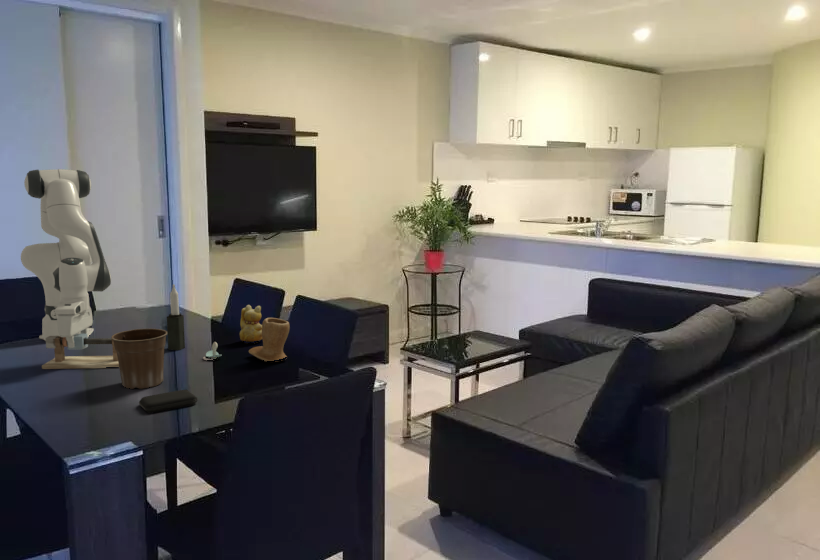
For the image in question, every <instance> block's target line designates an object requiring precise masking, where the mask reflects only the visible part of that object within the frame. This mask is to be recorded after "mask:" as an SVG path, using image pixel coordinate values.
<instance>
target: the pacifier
mask: <svg viewBox="0 0 820 560" xmlns="http://www.w3.org/2000/svg"><path fill="white" fill-rule="evenodd" d="M211 346H212V347H211V350H208V351H207V352H206V353H205V355H204V356H203V357H202V358H203V360H204V361H207V360H213V359H216V358H217V357H218V358H219V357H222V354H219V352H218V351H217V349H218V346H219V345H218V343H217V342H216V341H214V342H213V343H212V345H211ZM206 357H208V358H206ZM210 358H213V359H210ZM213 361H214V360H213Z"/></svg>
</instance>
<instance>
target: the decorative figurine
mask: <svg viewBox="0 0 820 560" xmlns="http://www.w3.org/2000/svg"><path fill="white" fill-rule="evenodd" d="M261 311H262V306H261V305H257V306H255V308H254V309H253V308H252V306H251V305H250V304H247V305H246V306H245V307H243V308H241V312H240V314H241V315H240V322H239V325H240V329H241V330H240V331H239V338H240V339H239V340H240V341H242V342H243V341H246V342H254V341H259V342H260V341H261V340H262V341H263V339H262V323H260V321H261V319H262V312H261Z"/></svg>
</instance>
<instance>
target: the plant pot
mask: <svg viewBox="0 0 820 560" xmlns="http://www.w3.org/2000/svg"><path fill="white" fill-rule="evenodd" d="M167 336H168V335H167V330H165V329H160V328H134V329H129V330H125V331H124V330H123V331H120V332H116V333H114V334H113V335H111V339H112V340H113V342H114V346H115V350H116V352H117V357H118V363H119V368H118V369H119V374H120V379H121V380H120V381H121V385H123V386H124V388H125V387H126V389H129V388H130V390H131V389H132V390H134V389H135V388H137V389H140V390H141V389H142V390H143V389H149V387H150V388H153V387H156V386H158V385H161V384H162V383H163V382H164V365H165V363H164V362H165V360H164V359H165V346H166V340H167Z"/></svg>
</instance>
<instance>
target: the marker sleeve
mask: <svg viewBox="0 0 820 560" xmlns="http://www.w3.org/2000/svg"><path fill="white" fill-rule="evenodd" d="M73 339H74V342H75V345H76V346H75V347H74V348H69V347H67V350H68V351H71V350H74V351H75V350H76V351H78V350H81V351H82V350H84V349H86V348H88V347H89V344H84V340H83V339H89V337H88V336H87V334H75V335H74V338H73ZM67 344H68V342H67Z"/></svg>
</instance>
